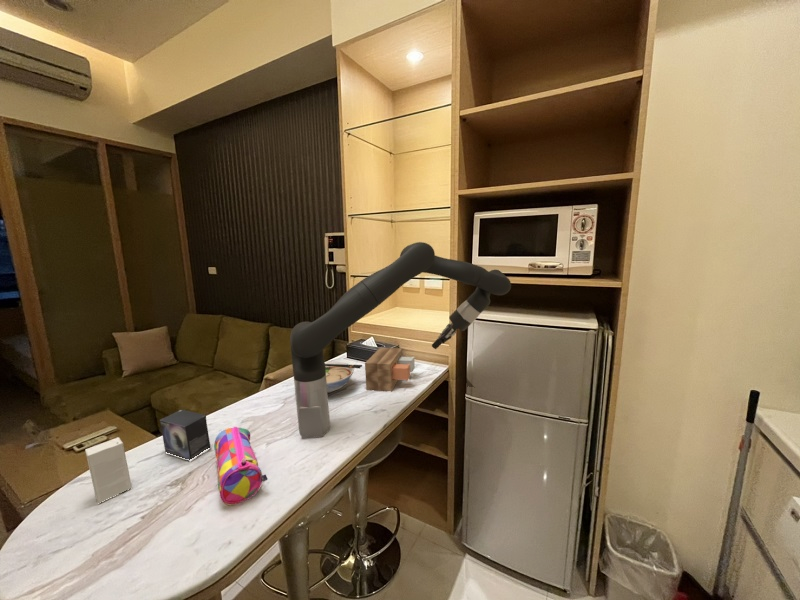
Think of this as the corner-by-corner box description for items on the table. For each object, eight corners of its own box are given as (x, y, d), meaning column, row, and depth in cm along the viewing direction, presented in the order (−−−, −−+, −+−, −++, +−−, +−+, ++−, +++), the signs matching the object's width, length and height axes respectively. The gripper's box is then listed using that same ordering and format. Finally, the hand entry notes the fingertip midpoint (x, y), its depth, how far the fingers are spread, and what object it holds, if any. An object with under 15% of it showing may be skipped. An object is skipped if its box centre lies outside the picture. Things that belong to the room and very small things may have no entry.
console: (366, 390, 123) (364, 363, 121) (381, 371, 142) (380, 347, 140) (391, 391, 120) (389, 364, 119) (402, 372, 140) (401, 348, 138)
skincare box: (128, 481, 77) (119, 436, 75) (132, 489, 74) (123, 442, 72) (94, 496, 72) (84, 448, 70) (97, 505, 70) (87, 456, 68)
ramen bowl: (281, 399, 118) (278, 378, 116) (314, 376, 139) (312, 358, 138) (341, 406, 110) (339, 384, 109) (366, 380, 132) (365, 362, 131)
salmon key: (390, 379, 123) (390, 367, 122) (394, 374, 128) (393, 363, 127) (407, 380, 121) (407, 368, 121) (410, 375, 126) (409, 363, 125)
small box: (163, 455, 87) (157, 419, 85) (186, 441, 93) (181, 408, 91) (189, 463, 83) (183, 426, 81) (212, 448, 89) (207, 413, 87)
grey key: (396, 371, 132) (395, 359, 131) (399, 367, 136) (398, 355, 136) (412, 372, 130) (411, 360, 129) (414, 367, 135) (414, 356, 134)
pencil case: (270, 494, 71) (266, 458, 69) (222, 516, 65) (217, 476, 64) (251, 448, 88) (248, 418, 87) (213, 462, 83) (208, 430, 82)
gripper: (458, 305, 122) (428, 335, 127) (456, 312, 109) (423, 345, 114) (472, 318, 122) (442, 348, 126) (472, 326, 109) (439, 360, 114)
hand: (433, 347), depth 120 cm, fingers closed
